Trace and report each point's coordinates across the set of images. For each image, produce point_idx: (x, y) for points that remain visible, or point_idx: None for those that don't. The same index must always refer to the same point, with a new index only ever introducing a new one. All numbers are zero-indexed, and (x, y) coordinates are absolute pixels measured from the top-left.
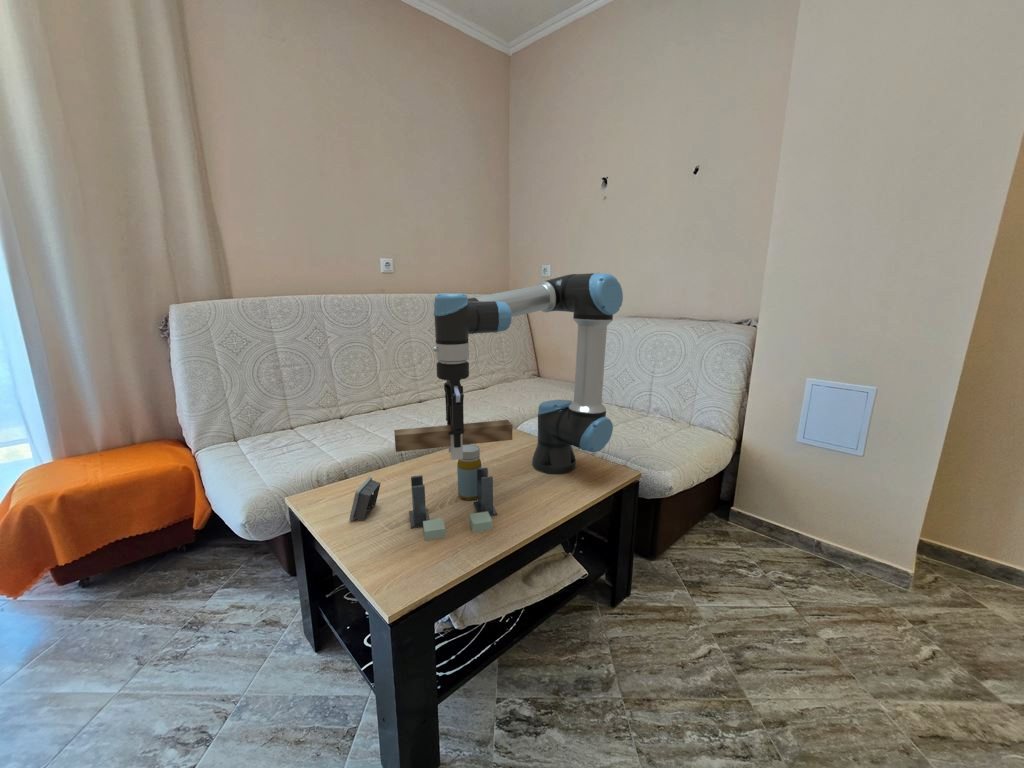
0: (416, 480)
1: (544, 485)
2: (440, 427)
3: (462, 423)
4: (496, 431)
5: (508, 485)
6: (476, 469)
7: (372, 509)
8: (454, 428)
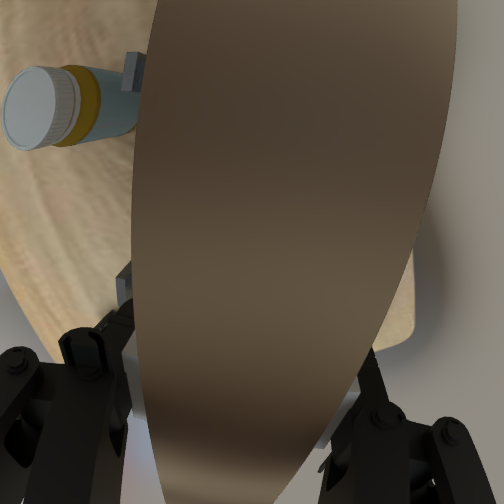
0: (129, 290)
1: None
2: (196, 479)
3: (486, 500)
4: None
5: (116, 3)
6: (101, 86)
7: None
8: (432, 499)
